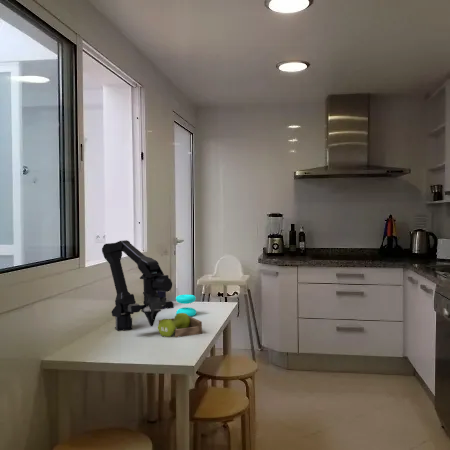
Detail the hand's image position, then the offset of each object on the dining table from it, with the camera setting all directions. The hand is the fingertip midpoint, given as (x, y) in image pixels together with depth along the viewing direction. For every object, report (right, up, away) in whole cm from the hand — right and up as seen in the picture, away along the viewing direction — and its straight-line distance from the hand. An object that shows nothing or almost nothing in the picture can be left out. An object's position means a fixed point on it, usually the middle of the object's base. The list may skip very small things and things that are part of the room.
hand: (151, 326), depth 213 cm
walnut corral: (+12, -3, +6) cm, 13 cm away
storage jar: (-5, -2, +59) cm, 59 cm away
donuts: (+12, -2, +37) cm, 39 cm away
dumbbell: (+10, -3, +1) cm, 10 cm away
